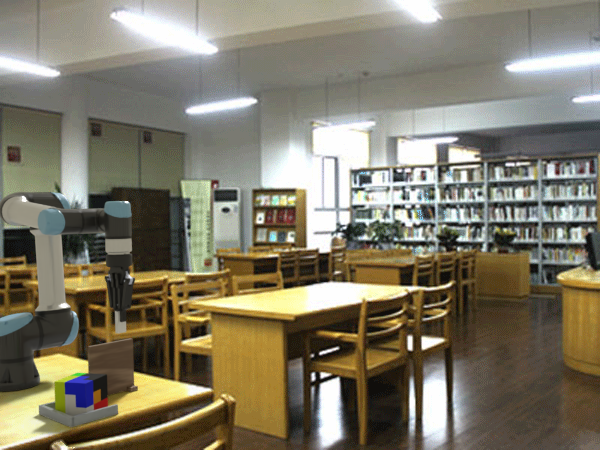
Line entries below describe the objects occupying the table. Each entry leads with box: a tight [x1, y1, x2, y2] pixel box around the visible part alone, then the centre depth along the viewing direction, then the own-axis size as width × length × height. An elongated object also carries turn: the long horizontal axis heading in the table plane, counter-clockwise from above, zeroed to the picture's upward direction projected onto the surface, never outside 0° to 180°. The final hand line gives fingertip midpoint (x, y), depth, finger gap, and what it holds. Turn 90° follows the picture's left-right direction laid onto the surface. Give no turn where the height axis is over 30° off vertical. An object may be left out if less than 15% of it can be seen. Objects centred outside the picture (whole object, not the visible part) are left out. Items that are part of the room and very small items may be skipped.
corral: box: [38, 400, 119, 428], centre depth 173 cm, size 18×14×2 cm
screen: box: [87, 337, 139, 396], centre depth 192 cm, size 6×15×16 cm, turn 138°
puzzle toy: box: [54, 372, 109, 416], centre depth 174 cm, size 10×10×10 cm
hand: (120, 332), depth 184 cm, fingers closed
